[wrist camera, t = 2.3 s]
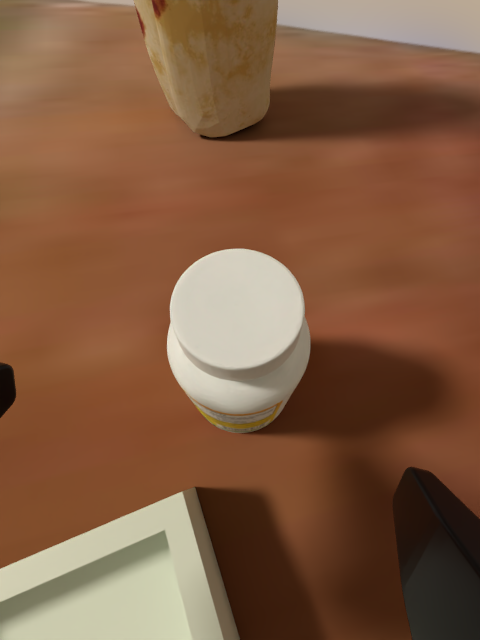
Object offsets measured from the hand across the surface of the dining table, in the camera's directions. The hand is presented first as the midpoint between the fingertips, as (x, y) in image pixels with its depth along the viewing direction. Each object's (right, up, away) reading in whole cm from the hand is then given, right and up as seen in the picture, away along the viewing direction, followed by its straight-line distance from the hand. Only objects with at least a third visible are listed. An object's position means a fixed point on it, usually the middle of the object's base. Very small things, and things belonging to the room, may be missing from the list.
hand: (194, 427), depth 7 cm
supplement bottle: (+1, -1, +11) cm, 11 cm away
